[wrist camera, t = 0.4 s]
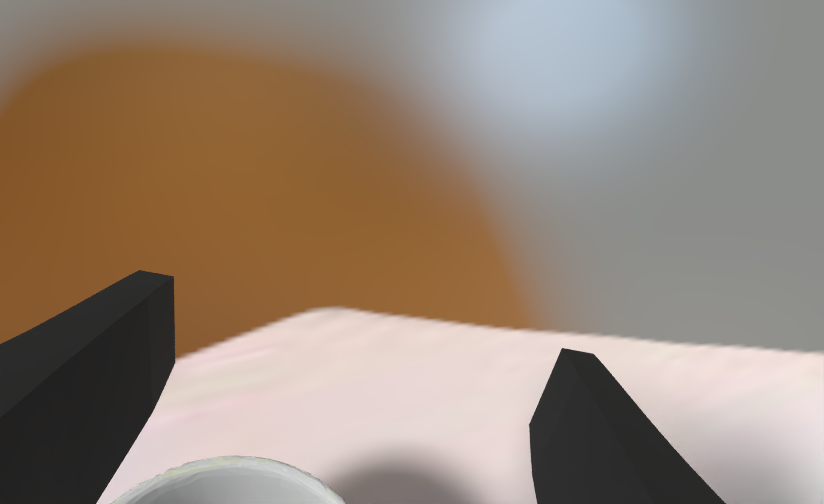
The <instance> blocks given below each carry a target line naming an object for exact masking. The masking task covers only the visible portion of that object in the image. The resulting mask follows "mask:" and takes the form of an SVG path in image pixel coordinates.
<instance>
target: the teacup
mask: <svg viewBox="0 0 824 504" xmlns="http://www.w3.org/2000/svg"><path fill="white" fill-rule="evenodd" d="M110 504H347V503H346V502H345V501H344V500H343V499H342V498H341V497H340V496H339V495H338V494H337V493H336V492H335V491H333V490H332V489H331V488H330V487H328V486H327V485H326V484H324V483H323V482H322V481H320V480H319V479H317V478H315V477H313V476H312V475H311V474H310V473H307V472H304V471H302V470H300V469H298V468H296V467H294V466H291V465H288V464H285V463H282V462H279V461H275V460H271V459H265V458H260V457H250V456H223V457H216V458H209V459H203V460H198V461H193V462H189V463H186V464H184V465H182V466H180V467H175V468H171V469H169V470H167V471H166V472H164V473H163V474H160V475H157V476H155V477H153V478H152V479H149V480H147V481H144V482H142V483H140V484H139V485H137V486H136V487H134V488H132V489H130V490H129V491H127V492H126V493H124V494H123V495H121V496H120V497H118V498H117V499H116V500H114V501H113V502H112V503H110Z"/></svg>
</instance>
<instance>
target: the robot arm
mask: <svg viewBox="0 0 824 504" xmlns="http://www.w3.org/2000/svg"><path fill="white" fill-rule="evenodd" d="M174 364H175V324H174V277H173V276H168V275H162V274H157V273H151V272H146V271H141V270H139V271H137V272H135V273H133V274H131V275H129V276H127V277H125V278H123V279H122V280H120V281H118V282H116V283H114V284H112V285H111V286H109V287H107V288H105V289H104V290H102V291H100V292H98V293H96V294H95V295H93V296H91V297H90V298H88V299H86V300H84V301H82V302H80V303H79V304H77V305H75V306H73V307H71V308H70V309H68V310H66V311H64V312H62V313H60V314H58V315H56V316H55V317H53V318H51V319H49V320H47V321H45V322H44V323H42V324H40V325H38V326H36V327H34V328H32V329H30V330H28V331H26V332H25V333H22V334H20V335H19V336H16V337H14V338H12V339H10V340H8V341H6V342H4V343H2V344H0V504H96V503H97V501H98V500H99V498H100V496H101V495H102V493H103V492H104V490H105V488H106V487H107V485H108V484H109V482H110V480H111V479H112V477H113V476H114V474H115V472H116V471H117V469H118V468H119V466H120V464H121V463H122V461H123V460H124V458H125V456H126V455H127V453H128V452H129V450H130V448H131V447H132V445H133V444H134V442H135V440H136V439H137V437H138V435H139V434H140V432H141V431H142V429H143V427H144V426H145V424H146V422H147V421H148V419H149V417H150V416H151V414H152V412H153V410H154V408H155V406H156V404H157V402H158V400H159V398H160V396H161V393H162V391H163V389H164V387H165V385H166V382H167V380H168V378H169V376H170V373H171V371H172V369H173V367H174ZM529 428H530V449H531V464H532V476H533V482H534V488H535V493H536V499H537V504H726V503H725V502H724V501H723V500H722V499H721V498H720V497H719V496H718V495H717V494H716V493H715V492H714V491H713V490H712V489H711V488H710V487H709V486H708V485H707V484H706V482H705V481H704V480H703V479H702V478H701V477H700V476H699V475H698V474H697V473H696V472H695V471H694V470H693V469H692V468H691V467H690V466H689V464H688V463H687V462H686V461H685V460H684V459H683V458H682V457H681V456H680V454H679V453H678V452H677V451H676V450H675V449H674V448H673V447H672V445H671V444H670V443H669V442H668V441H667V440H666V439H665V437H664V436H663V435H662V434H661V433H660V432H659V431H658V429H657V428H656V427H655V426H654V425H653V424H652V422H651V421H650V420H649V419H648V418H647V416H646V415H645V414H644V413H643V412H642V410H641V409H640V408H639V407H638V406H637V404H636V403H635V402H634V401H633V400H632V398H631V397H630V396H629V395H628V394H627V392H626V391H625V390H624V389H623V388H622V386H621V385H620V384H619V383H618V382H617V380H616V379H615V378H614V377H613V376H612V374H611V373H610V372H609V371H608V370H607V368H606V367H605V366H604V365H603V364H602V363H601V361H600V360H599V359H598V358H597V357H596V356H595V355H594V354H591V353H586V352H581V351H575V350H570V349H564V348H562V349H561V352H560V354H559V356H558V359H557V361H556V363H555V366H554V368H553V370H552V373H551V375H550V377H549V380H548V382H547V384H546V387H545V389H544V391H543V394H542V396H541V398H540V401H539V403H538V405H537V408H536V410H535V412H534V415H533V417H532V419H531V422H530V424H529Z"/></svg>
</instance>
